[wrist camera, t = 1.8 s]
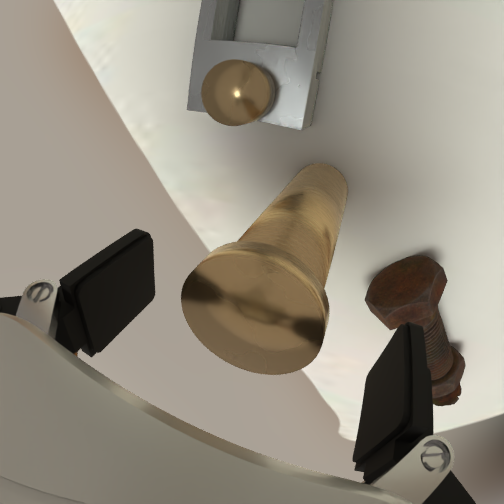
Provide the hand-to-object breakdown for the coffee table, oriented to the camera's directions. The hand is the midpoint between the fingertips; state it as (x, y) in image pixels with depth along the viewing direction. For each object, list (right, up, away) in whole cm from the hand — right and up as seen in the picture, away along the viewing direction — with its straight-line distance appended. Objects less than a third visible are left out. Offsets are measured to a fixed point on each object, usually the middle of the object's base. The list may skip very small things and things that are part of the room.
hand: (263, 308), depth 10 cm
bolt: (+14, -5, +11) cm, 19 cm away
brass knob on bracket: (+1, +17, +4) cm, 17 cm away
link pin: (+4, +6, +9) cm, 11 cm away
